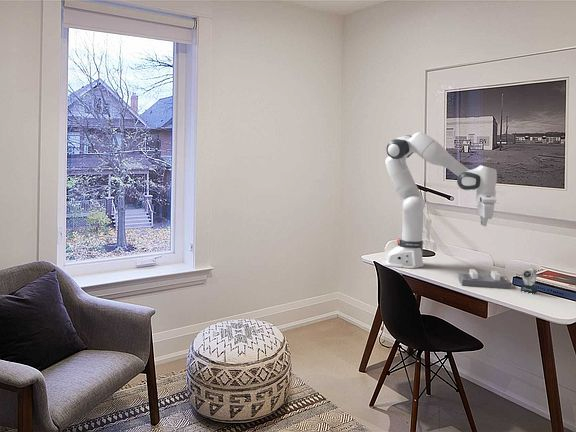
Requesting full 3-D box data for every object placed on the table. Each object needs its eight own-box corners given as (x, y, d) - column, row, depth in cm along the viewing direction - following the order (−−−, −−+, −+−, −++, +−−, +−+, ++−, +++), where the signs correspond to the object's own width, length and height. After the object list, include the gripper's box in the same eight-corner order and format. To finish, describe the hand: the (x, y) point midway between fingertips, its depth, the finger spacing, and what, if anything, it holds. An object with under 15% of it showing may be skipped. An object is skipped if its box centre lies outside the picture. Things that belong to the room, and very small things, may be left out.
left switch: (472, 278, 234) (472, 273, 234) (469, 274, 243) (469, 268, 243) (477, 279, 234) (478, 273, 234) (474, 274, 243) (474, 269, 242)
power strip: (462, 285, 234) (462, 279, 234) (458, 279, 246) (458, 273, 245) (511, 288, 230) (511, 282, 230) (504, 282, 242) (505, 276, 241)
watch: (518, 291, 226) (520, 268, 224) (527, 289, 231) (529, 266, 229) (530, 294, 221) (532, 271, 220) (539, 292, 226) (541, 268, 225)
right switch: (494, 280, 233) (495, 274, 232) (490, 275, 241) (491, 270, 241) (500, 280, 232) (500, 275, 232) (495, 276, 241) (496, 270, 240)
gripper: (475, 195, 254) (473, 222, 256) (482, 199, 234) (480, 228, 236) (487, 196, 253) (485, 222, 255) (496, 200, 233) (494, 228, 235)
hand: (483, 225), depth 245 cm, fingers open, 3 cm apart
